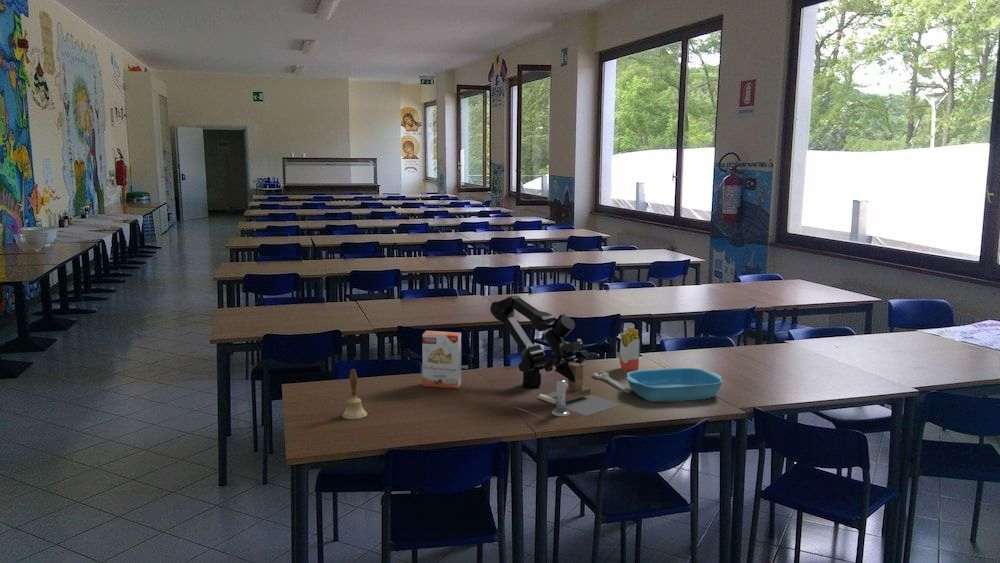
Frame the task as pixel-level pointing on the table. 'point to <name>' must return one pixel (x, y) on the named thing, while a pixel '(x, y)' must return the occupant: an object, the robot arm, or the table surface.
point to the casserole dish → (674, 384)
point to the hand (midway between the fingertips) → (578, 380)
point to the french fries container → (629, 350)
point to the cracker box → (441, 359)
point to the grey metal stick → (561, 399)
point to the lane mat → (582, 403)
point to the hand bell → (354, 401)
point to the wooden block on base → (576, 383)
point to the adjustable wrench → (611, 381)
